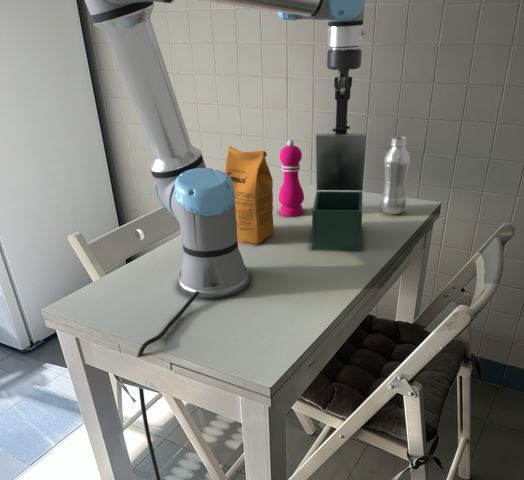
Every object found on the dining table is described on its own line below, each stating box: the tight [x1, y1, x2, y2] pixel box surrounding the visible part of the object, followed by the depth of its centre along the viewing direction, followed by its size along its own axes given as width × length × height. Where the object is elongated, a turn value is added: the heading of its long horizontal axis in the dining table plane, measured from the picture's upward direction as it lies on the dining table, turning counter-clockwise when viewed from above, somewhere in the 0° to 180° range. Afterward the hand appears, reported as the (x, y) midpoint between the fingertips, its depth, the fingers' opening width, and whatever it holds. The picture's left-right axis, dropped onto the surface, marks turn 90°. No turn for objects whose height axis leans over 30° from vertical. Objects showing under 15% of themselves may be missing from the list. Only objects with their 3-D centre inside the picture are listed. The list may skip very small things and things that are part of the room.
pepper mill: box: [278, 139, 305, 217], centre depth 146 cm, size 7×7×20 cm
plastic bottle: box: [380, 135, 411, 215], centre depth 143 cm, size 6×7×20 cm
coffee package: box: [223, 146, 275, 245], centre depth 133 cm, size 10×12×22 cm
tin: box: [311, 190, 363, 251], centre depth 132 cm, size 15×12×10 cm
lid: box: [315, 132, 367, 191], centre depth 129 cm, size 15×12×1 cm
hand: (340, 158), depth 129 cm, fingers closed
